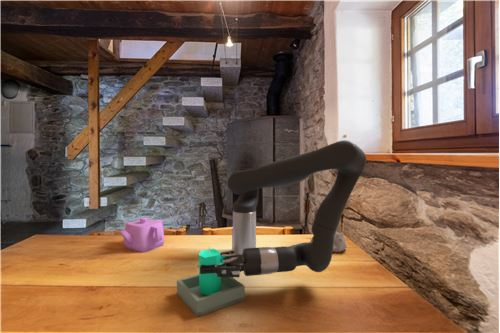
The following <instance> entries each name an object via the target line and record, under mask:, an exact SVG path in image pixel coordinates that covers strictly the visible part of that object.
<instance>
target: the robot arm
mask: <svg viewBox="0 0 500 333" xmlns="http://www.w3.org/2000/svg"><path fill="white" fill-rule="evenodd" d="M366 165H367V155H366V153H365V152H364V151H363V149H361V147H360V146H358V145H357V143H355V142H353V141H351V140H348V139H347V140H346V139H344V140H338V141H335V142H333V143H330V144H328V145H325V146H323V147H320V148H318V149H315V150H313V151H308V152H305V153H301V154H298V155H294V156H290V157H286V158H282V159H277V160H275V161H272V162H269V163H267V164H264V165H262V166H259V167H257V168H252V169H246V170H237V171H235V172H232V173H231V174H230V176H229V177H228V179H227V188H228V190H229V191H230V192H231V193H233V194H235V195H239V196H238V198H237V200H235V202H233V204H232V227H231V246H232V247H231V250H229V251H222V252H220V263H218V264H215V265H201V266H200V274H209V273H215V274H217V277H233V278H240V274H241V272H243V274H244V276H246V277H252V276H262V275H272V274H276V273H286V272H287V273H288V272H292V271H294V270H295V269H297V267H300V266H306V267H307V268H309V269H310V270H311V271H313V272H316V273H322V272H324V271H325V270H327V268H328V267H329V265H330V263H331V261H332V258H333V253H334V252H333V244H334V235H335V233H336V231H337V230H338V226H339V224H340V222H341V217H342V216H343V212H344V210H345V208H346V205H347V202H348V200H349V198H350V196H351V194H352V192H353V190H354V188H355V186H356V184H357V182H358V181H359V178H360V177H361V174H363V171H364V169H365V167H366ZM328 170H337V174H336V178H335V181H334V183H333V185H332V186H331V187H332V188H331V189H330V191H329V192H328V193H327V195H326V196H325V197H324V198H323V199H322V202H321V203H320V205H319V206H318V208H317V210H316V214H315V217H314V219H313V223H312V226H311V229H310V230H311V233H312V235H313V236H312V237H313V241H312V243H309V242H301V243H297V244H293V245H289V246H275V247H274V246H273V247H271V246H260V247H259V246H258V247H257V205H258V202H259V189H263V188H276V187H284V186H285V187H286V186H289V185H294V184H298V183H301V182H303V181H305V180H306V179H307V178H309V177H310V176H312V175H313V174H316V173H318V172H322V171H323V172H324V171H328Z"/></svg>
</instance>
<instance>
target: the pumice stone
mask: <svg viewBox="0 0 500 333" xmlns="http://www.w3.org/2000/svg"><path fill="white" fill-rule="evenodd" d="M312 241H313V236H312V237H311V239H310V241H309V242H308V243H312ZM347 248H348V247H347V242H346V240H345V236H344V233H343V232H342V233H341V232H338V231H337V230H336V233H335V235H334V244H333V252H332V253H341V252H343V251H344V250H345V251H346V249H347Z"/></svg>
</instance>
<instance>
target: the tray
mask: <svg viewBox="0 0 500 333" xmlns="http://www.w3.org/2000/svg"><path fill="white" fill-rule="evenodd" d="M245 287H246V286H245V285H244V284H242V283H241V282H240V281H239V280H237V279H236V278H235V277H221V290H220V291H219V292H217V293H214V294H211V295H205V294H202V293H201V292H200V291H199V273H198V274H196V275H192V276H187V277H184V278H180V279H176V295H177V296H178V297H179V298H180V299H181V300H182V301H183V302H184V304H185V305H186V306H187V308H189V309H190V310H191V312H193V314H194V315H195V316H196V317H197V318H199V317H201V316H204V315H207V314H209V313H212V312H215V311H218V310H220V309H223V308H226V307H229V306H233V305H235V304H237V303H240V302H243V301H245V300H246V298H245V295H246V294H245V293H246V292H245Z"/></svg>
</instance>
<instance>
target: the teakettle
mask: <svg viewBox="0 0 500 333" xmlns="http://www.w3.org/2000/svg"><path fill="white" fill-rule="evenodd" d="M124 227H125V228H124V229H122V230H121V231H119V233H120V235H121V236H122V237H123V246H124V247H125V249H129V250H130V251H135V252H140V253H146V252H149V251H152V250H156V249H157V248H160V247H163V246H164V243H165V234H164V232H165V229H164V220H163V219H156V220H155V219H149V218H148V217H140V218H139V219H138V220H134V221H126V222H125V226H124Z"/></svg>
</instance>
